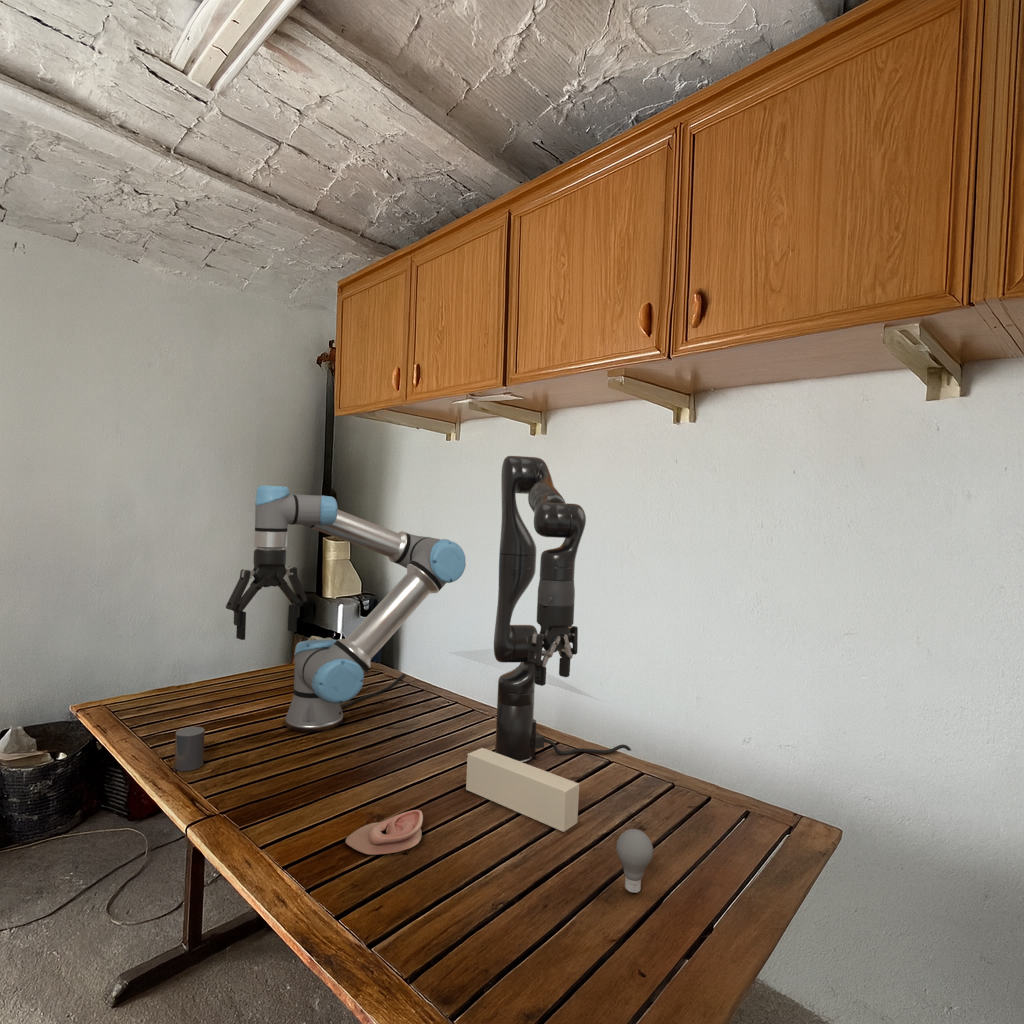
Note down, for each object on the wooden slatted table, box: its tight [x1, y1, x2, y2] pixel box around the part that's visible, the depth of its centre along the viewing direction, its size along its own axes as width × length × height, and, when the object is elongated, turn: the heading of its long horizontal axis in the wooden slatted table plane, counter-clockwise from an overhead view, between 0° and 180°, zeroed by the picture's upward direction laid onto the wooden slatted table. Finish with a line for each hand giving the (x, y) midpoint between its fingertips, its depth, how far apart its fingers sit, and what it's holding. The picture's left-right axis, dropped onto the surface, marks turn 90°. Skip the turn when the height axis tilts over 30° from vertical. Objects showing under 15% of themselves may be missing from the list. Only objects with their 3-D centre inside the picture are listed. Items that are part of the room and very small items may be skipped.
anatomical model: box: [344, 809, 424, 856], centre depth 118 cm, size 13×4×12 cm
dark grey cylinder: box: [173, 726, 206, 772], centre depth 146 cm, size 6×6×8 cm
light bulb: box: [615, 828, 654, 894], centre depth 106 cm, size 6×6×10 cm
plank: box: [465, 747, 580, 833], centre depth 134 cm, size 26×5×8 cm, turn 52°
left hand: (267, 635), depth 155 cm, fingers open, 13 cm apart
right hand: (552, 680), depth 129 cm, fingers open, 8 cm apart
